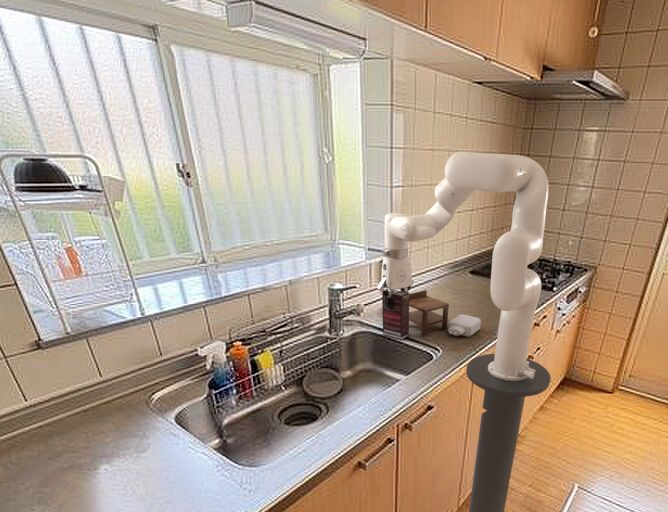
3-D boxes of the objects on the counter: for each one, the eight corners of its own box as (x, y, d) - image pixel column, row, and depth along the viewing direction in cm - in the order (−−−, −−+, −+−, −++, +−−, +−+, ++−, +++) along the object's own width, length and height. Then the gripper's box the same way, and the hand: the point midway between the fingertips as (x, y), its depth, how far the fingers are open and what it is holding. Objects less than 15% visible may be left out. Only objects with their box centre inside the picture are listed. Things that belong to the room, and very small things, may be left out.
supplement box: (409, 335, 150) (410, 292, 143) (401, 339, 146) (402, 295, 139) (389, 330, 154) (389, 288, 147) (382, 334, 150) (381, 291, 143)
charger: (439, 336, 152) (458, 324, 164) (462, 343, 148) (479, 330, 160) (440, 324, 150) (459, 313, 161) (463, 330, 146) (481, 318, 158)
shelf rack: (446, 329, 159) (449, 298, 154) (423, 336, 151) (425, 304, 146) (423, 319, 167) (425, 290, 162) (400, 325, 159) (401, 295, 154)
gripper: (382, 258, 129) (383, 314, 138) (423, 252, 140) (421, 304, 148) (368, 254, 134) (369, 308, 142) (408, 248, 145) (407, 299, 153)
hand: (395, 305), depth 145 cm, fingers closed on supplement box, 5 cm apart
